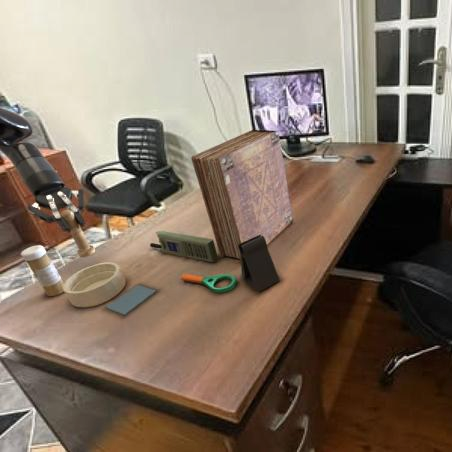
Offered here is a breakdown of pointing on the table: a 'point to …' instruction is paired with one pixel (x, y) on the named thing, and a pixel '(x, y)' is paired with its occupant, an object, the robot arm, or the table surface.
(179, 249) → the handheld radio
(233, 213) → the book
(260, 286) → the phone stand
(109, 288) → the bowl
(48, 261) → the sprinkles bottle
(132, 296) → the rest mat
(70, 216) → the wooden pestle
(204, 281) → the magnifying glass
